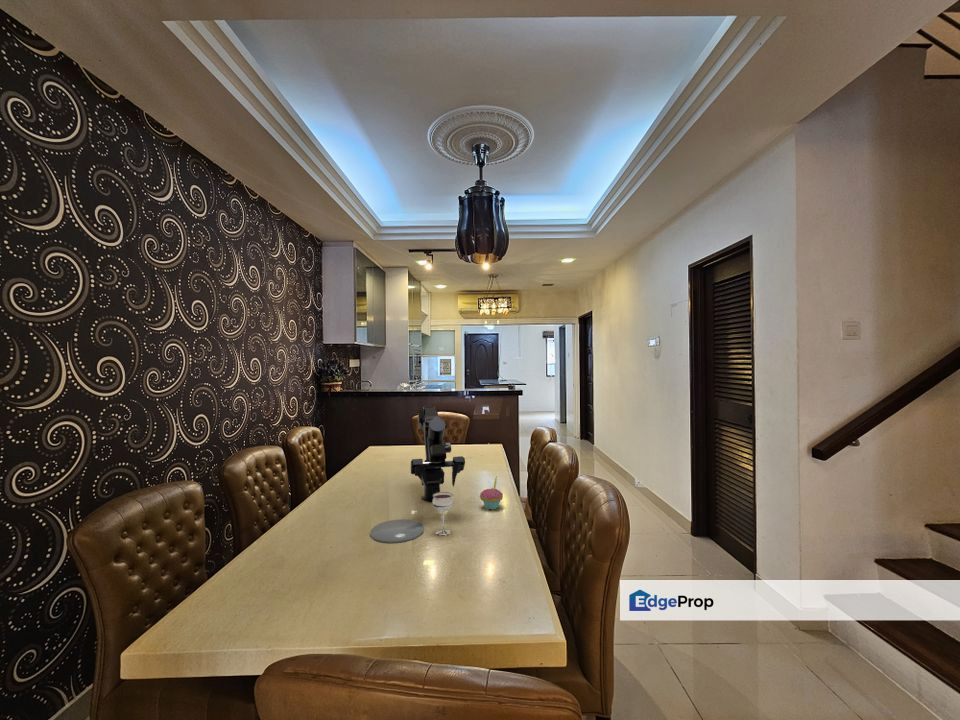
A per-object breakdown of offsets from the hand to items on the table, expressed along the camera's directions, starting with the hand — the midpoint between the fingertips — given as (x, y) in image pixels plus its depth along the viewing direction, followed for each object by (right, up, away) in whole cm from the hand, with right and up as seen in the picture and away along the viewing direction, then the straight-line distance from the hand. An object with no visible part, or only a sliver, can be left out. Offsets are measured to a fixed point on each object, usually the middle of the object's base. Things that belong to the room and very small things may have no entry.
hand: (440, 487), depth 141 cm
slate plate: (-13, -13, -6) cm, 19 cm away
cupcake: (+18, -13, +15) cm, 27 cm away
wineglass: (+2, -13, -7) cm, 14 cm away
